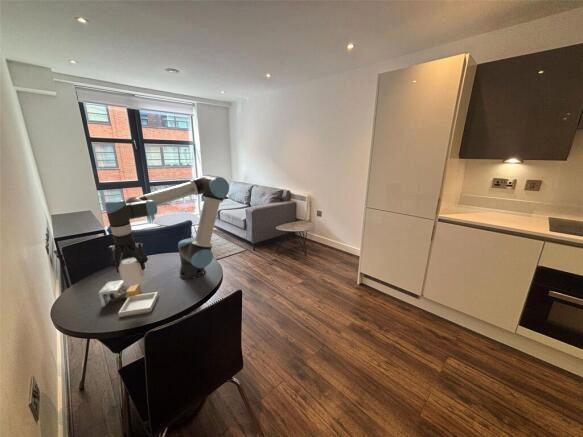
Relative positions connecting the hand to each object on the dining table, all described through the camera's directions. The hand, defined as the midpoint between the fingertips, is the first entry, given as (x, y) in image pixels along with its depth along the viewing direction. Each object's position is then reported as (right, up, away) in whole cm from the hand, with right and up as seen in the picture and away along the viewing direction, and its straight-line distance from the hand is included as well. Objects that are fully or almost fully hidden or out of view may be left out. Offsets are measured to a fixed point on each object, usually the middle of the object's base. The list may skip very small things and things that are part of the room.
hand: (133, 276), depth 114 cm
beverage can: (0, -3, +1) cm, 3 cm away
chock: (-8, -14, +13) cm, 21 cm away
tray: (0, -16, +5) cm, 17 cm away
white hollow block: (-15, -15, +10) cm, 24 cm away
